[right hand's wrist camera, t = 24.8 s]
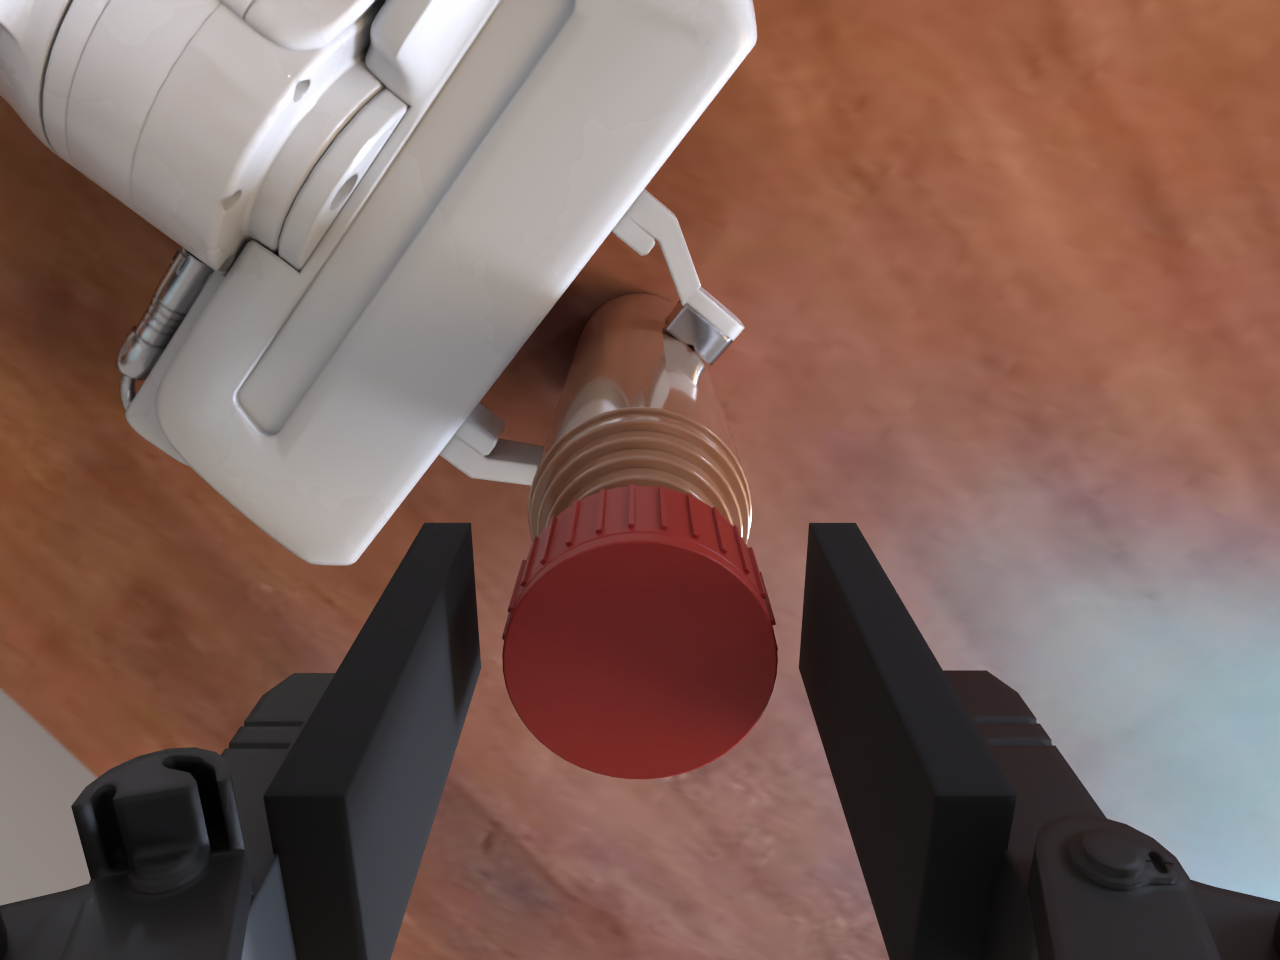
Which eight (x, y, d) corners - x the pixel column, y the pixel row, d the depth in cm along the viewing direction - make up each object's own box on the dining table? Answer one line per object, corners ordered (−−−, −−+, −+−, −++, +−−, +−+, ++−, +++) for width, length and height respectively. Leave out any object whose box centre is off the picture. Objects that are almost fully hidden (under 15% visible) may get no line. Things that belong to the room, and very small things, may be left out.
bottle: (670, 271, 32) (717, 447, 12) (721, 384, 33) (834, 699, 14) (556, 326, 32) (433, 573, 13) (611, 435, 34) (573, 801, 15)
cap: (655, 430, 14) (658, 478, 12) (810, 608, 15) (838, 681, 13) (467, 582, 15) (438, 651, 13) (626, 740, 16) (625, 827, 14)
